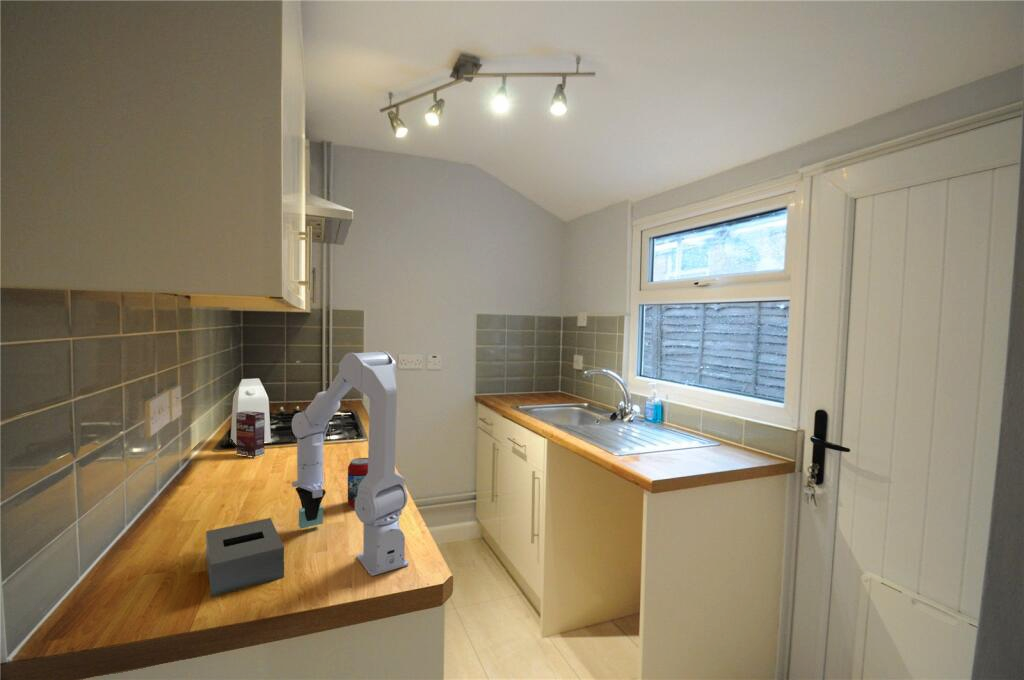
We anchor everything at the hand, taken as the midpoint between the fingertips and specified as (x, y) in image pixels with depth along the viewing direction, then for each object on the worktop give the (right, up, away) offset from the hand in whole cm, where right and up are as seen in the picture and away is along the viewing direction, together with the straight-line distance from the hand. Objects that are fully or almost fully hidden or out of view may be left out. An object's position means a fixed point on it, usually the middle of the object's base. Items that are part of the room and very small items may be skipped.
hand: (310, 518), depth 112 cm
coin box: (-6, -3, -18) cm, 19 cm away
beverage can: (+7, -3, +16) cm, 18 cm away
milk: (-55, +1, +73) cm, 91 cm away
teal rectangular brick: (0, -2, 0) cm, 2 cm away
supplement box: (-47, 0, +58) cm, 74 cm away
